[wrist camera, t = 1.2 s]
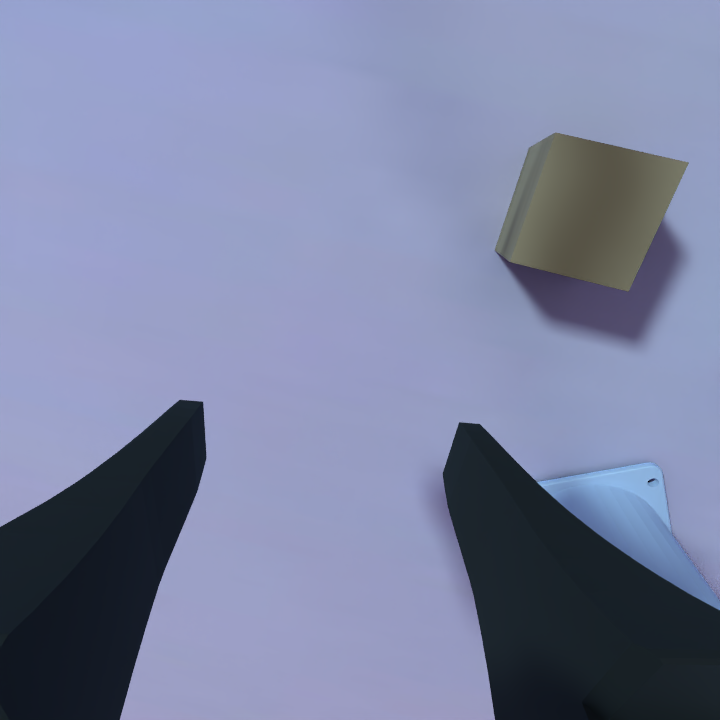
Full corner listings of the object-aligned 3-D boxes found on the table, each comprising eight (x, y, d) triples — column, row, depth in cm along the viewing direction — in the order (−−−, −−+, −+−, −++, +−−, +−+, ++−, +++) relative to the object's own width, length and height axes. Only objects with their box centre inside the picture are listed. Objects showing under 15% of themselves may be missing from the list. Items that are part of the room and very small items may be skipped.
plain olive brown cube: (636, 172, 18) (695, 163, 14) (592, 274, 20) (633, 293, 16) (528, 147, 18) (555, 132, 14) (494, 250, 20) (510, 262, 16)
